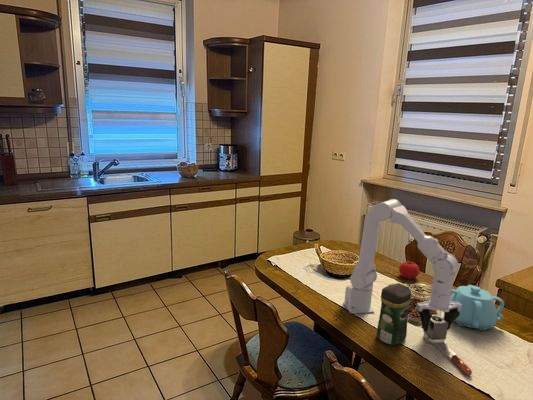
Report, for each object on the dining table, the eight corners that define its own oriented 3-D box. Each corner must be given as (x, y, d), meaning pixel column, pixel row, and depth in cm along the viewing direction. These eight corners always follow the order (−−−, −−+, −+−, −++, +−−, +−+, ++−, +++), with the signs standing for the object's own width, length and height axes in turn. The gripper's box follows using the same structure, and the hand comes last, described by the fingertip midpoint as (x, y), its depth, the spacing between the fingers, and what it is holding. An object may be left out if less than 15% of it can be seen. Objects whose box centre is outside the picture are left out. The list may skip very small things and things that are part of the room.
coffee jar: (388, 327, 128) (395, 278, 123) (409, 339, 121) (416, 287, 117) (371, 336, 122) (377, 285, 118) (392, 349, 116) (399, 295, 111)
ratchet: (419, 334, 124) (421, 322, 123) (437, 333, 125) (438, 321, 124) (459, 377, 104) (462, 364, 103) (479, 376, 105) (482, 363, 104)
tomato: (394, 276, 169) (396, 260, 167) (404, 271, 175) (406, 256, 173) (412, 283, 163) (414, 266, 161) (421, 278, 168) (424, 262, 166)
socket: (431, 339, 119) (434, 323, 117) (423, 330, 123) (425, 314, 122) (445, 339, 119) (448, 322, 118) (436, 330, 124) (439, 314, 123)
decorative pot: (468, 307, 144) (474, 275, 141) (506, 330, 129) (513, 295, 126) (435, 313, 139) (440, 280, 136) (470, 337, 124) (477, 300, 121)
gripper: (427, 298, 113) (421, 337, 116) (470, 296, 115) (463, 335, 118) (415, 287, 120) (409, 324, 123) (456, 286, 122) (449, 322, 125)
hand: (435, 329), depth 121 cm, fingers open, 7 cm apart
